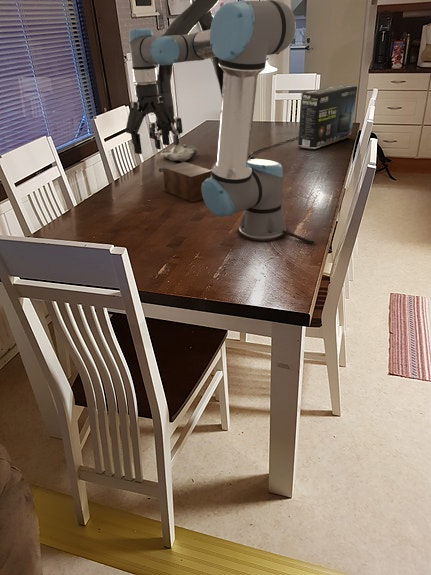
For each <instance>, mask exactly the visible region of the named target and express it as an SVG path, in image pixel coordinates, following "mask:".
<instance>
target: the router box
mask: <svg viewBox="0 0 431 575" xmlns="http://www.w3.org/2000/svg"><path fill="white" fill-rule="evenodd" d="M357 93H358V86H356V85H350V84H339V85H338V84H337V85H334V86H328V87H324V88H318V89H314V90H309V91H304V92H301V93H300V109H299V110H300V111H299V124H298V135H297V136H298V138H297V146H298V145H302V146H307V147H317V146H320V145H323V144H325V143H328V142H331V141H333V140H336V139H338V138H341V137H344V136H347V135H351V136H352V133H353V132H352V131H353V125H354V115H355V109H356V99H357ZM311 151H313V150H312V149H311Z"/></svg>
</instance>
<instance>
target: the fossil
mask: <svg viewBox="0 0 431 575" xmlns="http://www.w3.org/2000/svg"><path fill="white" fill-rule="evenodd" d="M198 153H199V150H198V148H197V146H195V145H188V146H187V145H186V143H184V142H183V143H181V142H179V144H178V145H174V146H173V147H172V148H171V149H170V150H168V149H165V150H162V151H161V152H160V156H161V158H162V159H163V160H169V161H174V162H177V161H179V162H180V163H183V162H187V161H188V160H190V159H191V158H192V157H193V156H194V155H197V154H198Z"/></svg>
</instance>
